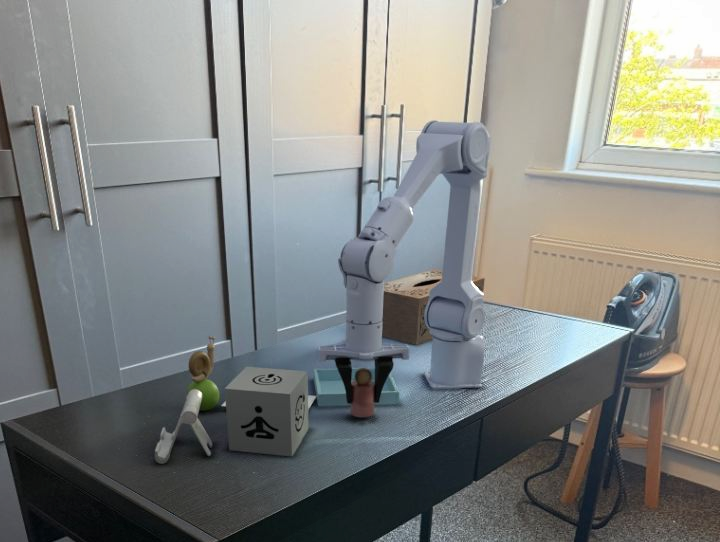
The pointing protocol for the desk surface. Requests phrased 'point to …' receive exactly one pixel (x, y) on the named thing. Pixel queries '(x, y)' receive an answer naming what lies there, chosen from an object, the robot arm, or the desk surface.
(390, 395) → the baking pan
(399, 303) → the tissue box cover
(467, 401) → the desk surface
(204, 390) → the snail figurine
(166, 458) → the tablet stand
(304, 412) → the icon cube
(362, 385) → the peg doll
